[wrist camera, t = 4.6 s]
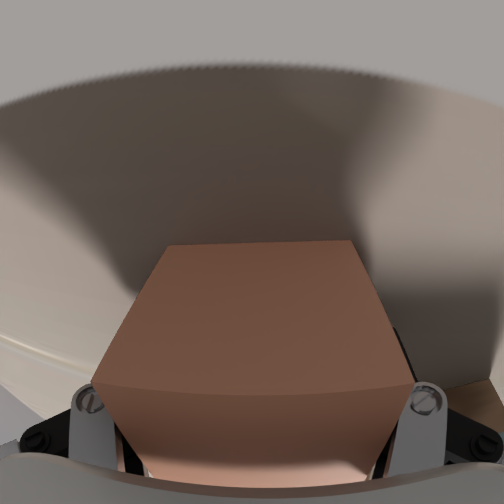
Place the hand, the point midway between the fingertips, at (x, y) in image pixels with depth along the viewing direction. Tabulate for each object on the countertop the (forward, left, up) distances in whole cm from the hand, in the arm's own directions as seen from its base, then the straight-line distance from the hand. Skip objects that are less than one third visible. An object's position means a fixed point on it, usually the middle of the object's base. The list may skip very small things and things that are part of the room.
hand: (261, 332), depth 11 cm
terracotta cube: (0, 0, -1) cm, 1 cm away
